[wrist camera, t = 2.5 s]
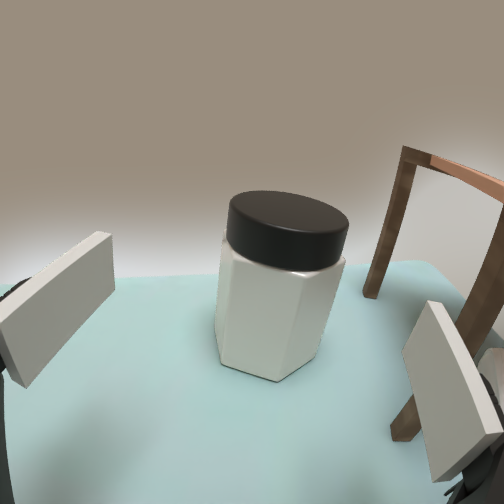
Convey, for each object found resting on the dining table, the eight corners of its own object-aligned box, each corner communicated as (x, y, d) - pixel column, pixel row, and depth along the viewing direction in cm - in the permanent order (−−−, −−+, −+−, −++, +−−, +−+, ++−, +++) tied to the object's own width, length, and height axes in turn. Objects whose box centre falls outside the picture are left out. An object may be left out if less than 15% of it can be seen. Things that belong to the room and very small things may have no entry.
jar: (320, 330, 29) (356, 208, 24) (305, 392, 22) (355, 246, 16) (230, 304, 31) (246, 182, 26) (194, 357, 24) (202, 208, 18)
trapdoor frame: (490, 312, 35) (536, 196, 27) (554, 423, 16) (646, 271, 8) (362, 290, 36) (402, 145, 29) (392, 440, 18) (523, 199, 10)
